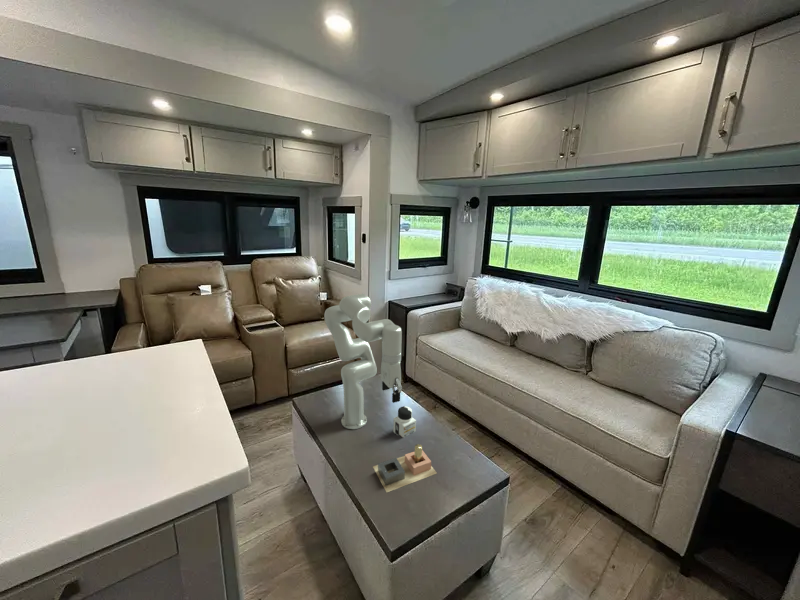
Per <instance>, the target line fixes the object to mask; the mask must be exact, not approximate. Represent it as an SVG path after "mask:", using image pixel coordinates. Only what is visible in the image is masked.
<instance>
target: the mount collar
mask: <svg viewBox="0 0 800 600" xmlns="http://www.w3.org/2000/svg"><path fill="white" fill-rule="evenodd" d="M397 458H398V457H393V458H390V459H388V460H385V461H381V462H379V463H377V465H378V472H379V474H380V476H381V478H382V479H383V481H384V483H385V485H389V484H392V483H394V482H397V481H400V480H403V479H405V471H404V469H403V468H402V466H401V465H400V463H399V461H398V460H397ZM393 469H394V470H395V471H393V472H390V473H388V472H387V471H390V470H393Z"/></svg>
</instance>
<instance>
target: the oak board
mask: <svg viewBox="0 0 800 600" xmlns="http://www.w3.org/2000/svg"><path fill="white" fill-rule="evenodd" d="M396 458H397V460H398V461H399V463H400V465H401V466H402V468H403V469H404V471H405V479H403V480H400V481H397V482H394V483H392V484H389V485H385V483H384V481H383V479H382V478H381V476H380V474H379V472H378V464H377V465H373V466H372V468H373V469H374V472H375V473H376V475H377V477H378V479H379V481H380V483H381V485H382V486H383V488H384V490H385V493H389V492H392V491H395V490H397V489H400V488H402V487H405V486H408V485H410V484H412V483H416V482H418V481H422V480H423V479H426V478H429V477H431V476H434V475H436V474H437V475H438V473H437V471H436V470H435V468H434V467H433V466H432V465H431V469H429V470H427V471H424V472H421V473H419V474H416V475H413V474H412V472H411V471H410V469H409V468H408V466H407V465H406V463H405V455H403V456H399V457H396ZM393 471H395V470H394V469H393V470H390V471H387V472H388V473H390V472H393Z"/></svg>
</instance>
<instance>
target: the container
mask: <svg viewBox="0 0 800 600" xmlns="http://www.w3.org/2000/svg"><path fill="white" fill-rule="evenodd" d="M397 409H398V410H397V416H395V417H393V425H392V426H393V428H392V429H393V430H392V431H393V433H394V434H396V436H401V437H402V438H403V439H405V438H406V437H407V436H409V435H412V434H413V433H415V432H416V431H417V429H416V427H417V419H415V418H414V417H413V409H412V408H411V407H409V406H405V405H404V406H400V407H399V408H397Z"/></svg>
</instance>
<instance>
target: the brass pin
mask: <svg viewBox="0 0 800 600" xmlns="http://www.w3.org/2000/svg"><path fill="white" fill-rule="evenodd" d="M422 450H423V445H422V444H419V443H417V444H415V445H414V451H415V454H414V462H415V463H419V462H421V461H422Z"/></svg>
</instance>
